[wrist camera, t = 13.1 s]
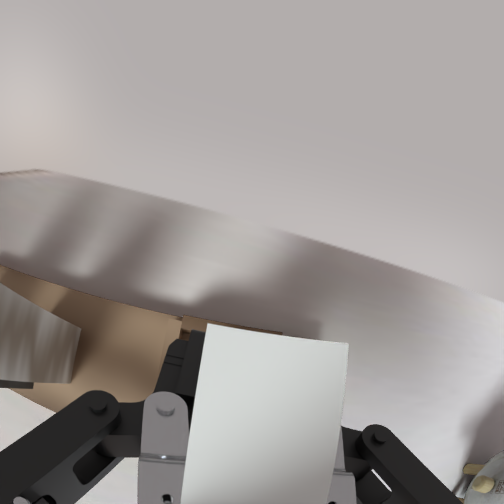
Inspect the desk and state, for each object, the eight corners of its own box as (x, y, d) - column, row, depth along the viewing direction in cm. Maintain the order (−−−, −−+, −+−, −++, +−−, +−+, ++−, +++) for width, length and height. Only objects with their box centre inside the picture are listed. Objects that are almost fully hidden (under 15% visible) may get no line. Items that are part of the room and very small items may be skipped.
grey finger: (245, 440, 14) (320, 528, 4) (191, 433, 13) (178, 524, 4) (256, 366, 16) (348, 343, 6) (203, 358, 15) (207, 323, 6)
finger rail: (293, 457, 17) (396, 522, 6) (-30, 358, 14) (-131, 322, 3) (308, 342, 21) (421, 294, 9) (-7, 265, 18) (-90, 188, 7)
